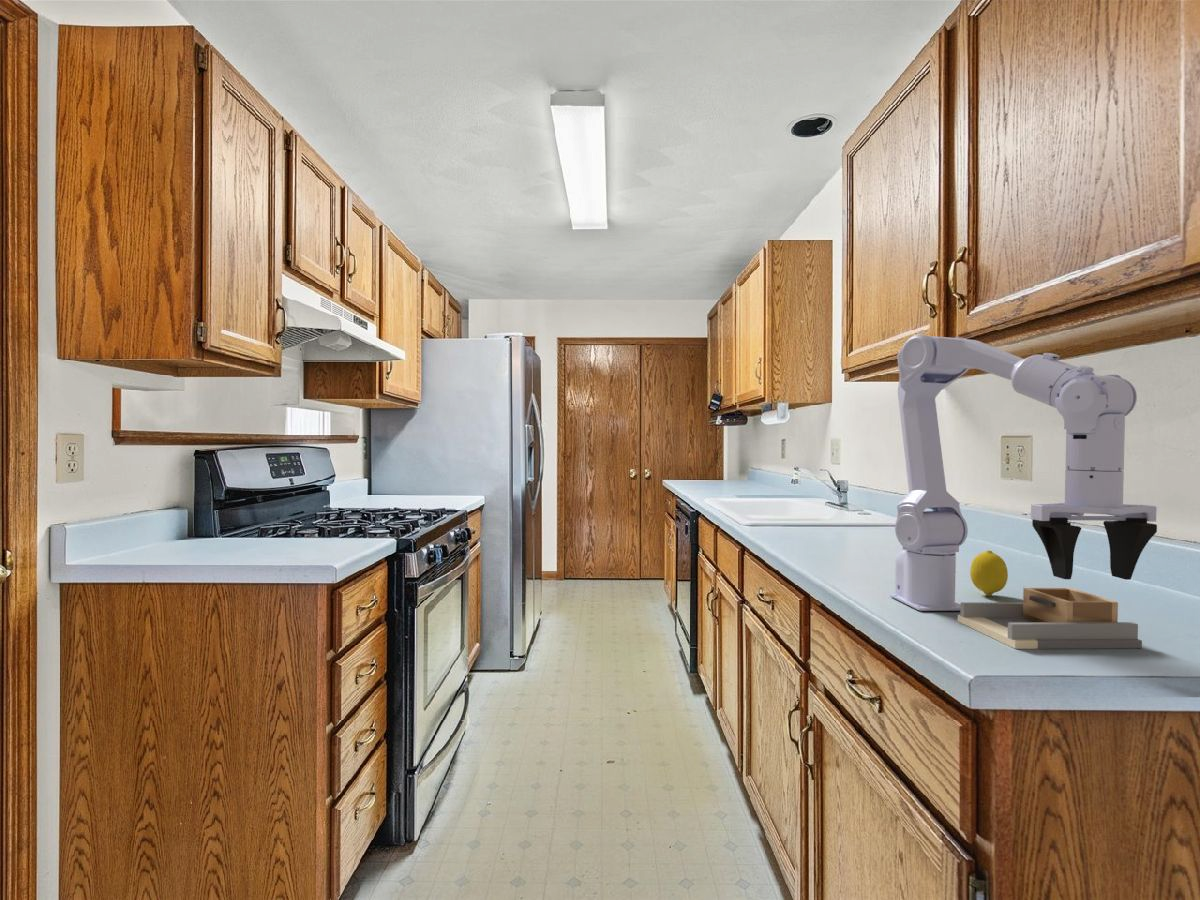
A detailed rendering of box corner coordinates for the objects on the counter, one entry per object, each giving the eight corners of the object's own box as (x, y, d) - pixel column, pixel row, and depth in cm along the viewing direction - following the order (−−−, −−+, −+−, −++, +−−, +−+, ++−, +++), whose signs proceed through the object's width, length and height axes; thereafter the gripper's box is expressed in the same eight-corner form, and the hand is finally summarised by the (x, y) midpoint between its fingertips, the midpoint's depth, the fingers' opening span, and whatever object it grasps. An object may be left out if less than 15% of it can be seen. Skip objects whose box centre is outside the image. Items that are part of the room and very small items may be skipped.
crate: (1018, 617, 89) (1019, 588, 89) (1069, 617, 89) (1069, 587, 89) (1062, 635, 81) (1062, 602, 81) (1117, 634, 81) (1117, 602, 81)
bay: (957, 621, 91) (958, 601, 91) (1068, 621, 91) (1068, 601, 91) (1015, 648, 79) (1015, 625, 79) (1141, 648, 79) (1142, 625, 79)
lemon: (992, 592, 109) (993, 547, 109) (1015, 600, 104) (1015, 553, 104) (962, 592, 109) (963, 547, 109) (983, 600, 103) (984, 553, 103)
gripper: (1061, 471, 72) (1059, 585, 72) (1181, 472, 73) (1178, 585, 73) (1019, 468, 79) (1017, 572, 80) (1128, 469, 80) (1126, 572, 80)
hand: (1091, 577), depth 77 cm, fingers open, 7 cm apart
